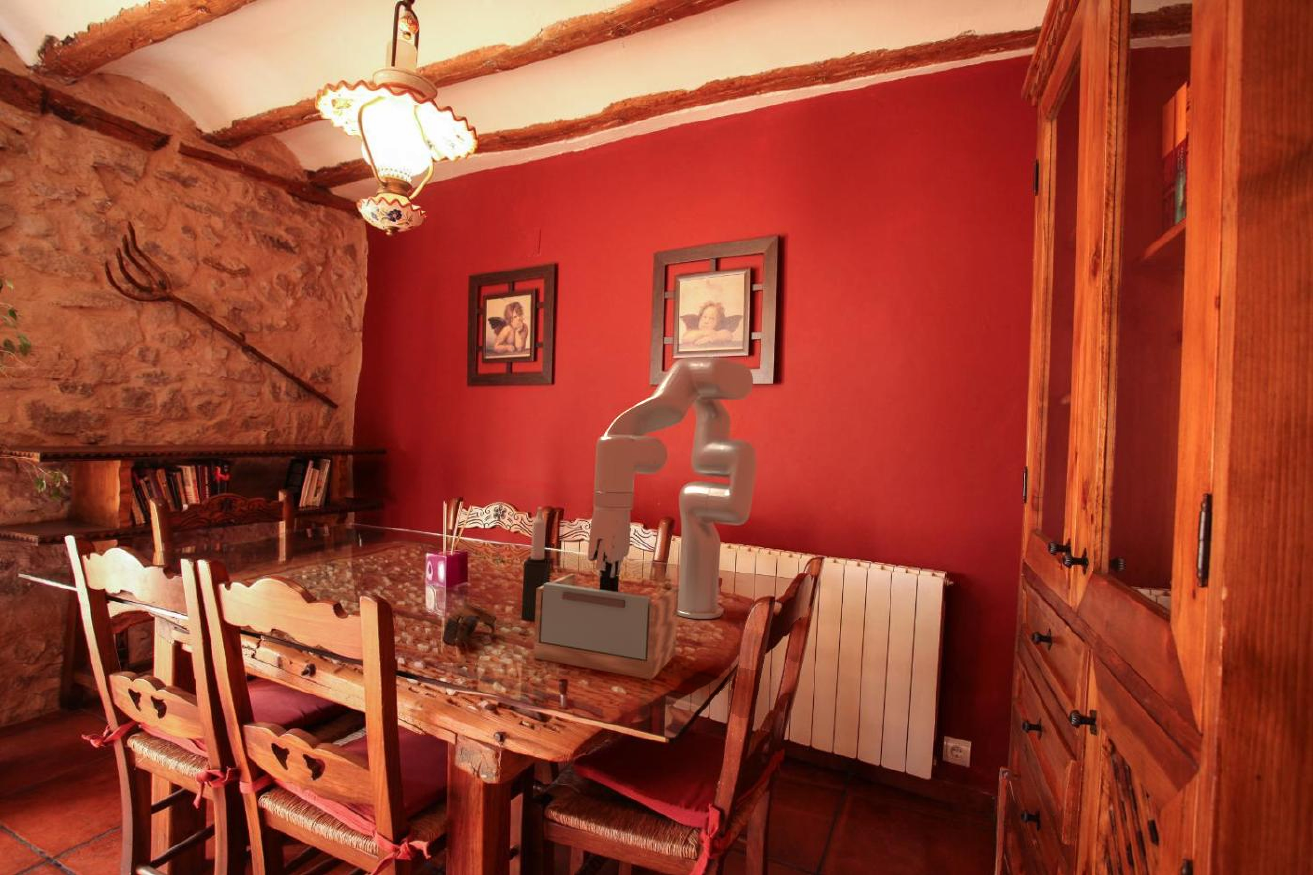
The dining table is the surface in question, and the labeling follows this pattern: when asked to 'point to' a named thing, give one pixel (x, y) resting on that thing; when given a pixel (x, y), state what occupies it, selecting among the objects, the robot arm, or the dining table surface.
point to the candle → (535, 568)
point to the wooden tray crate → (658, 654)
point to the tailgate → (596, 620)
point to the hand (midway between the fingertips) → (608, 596)
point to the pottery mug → (466, 623)
